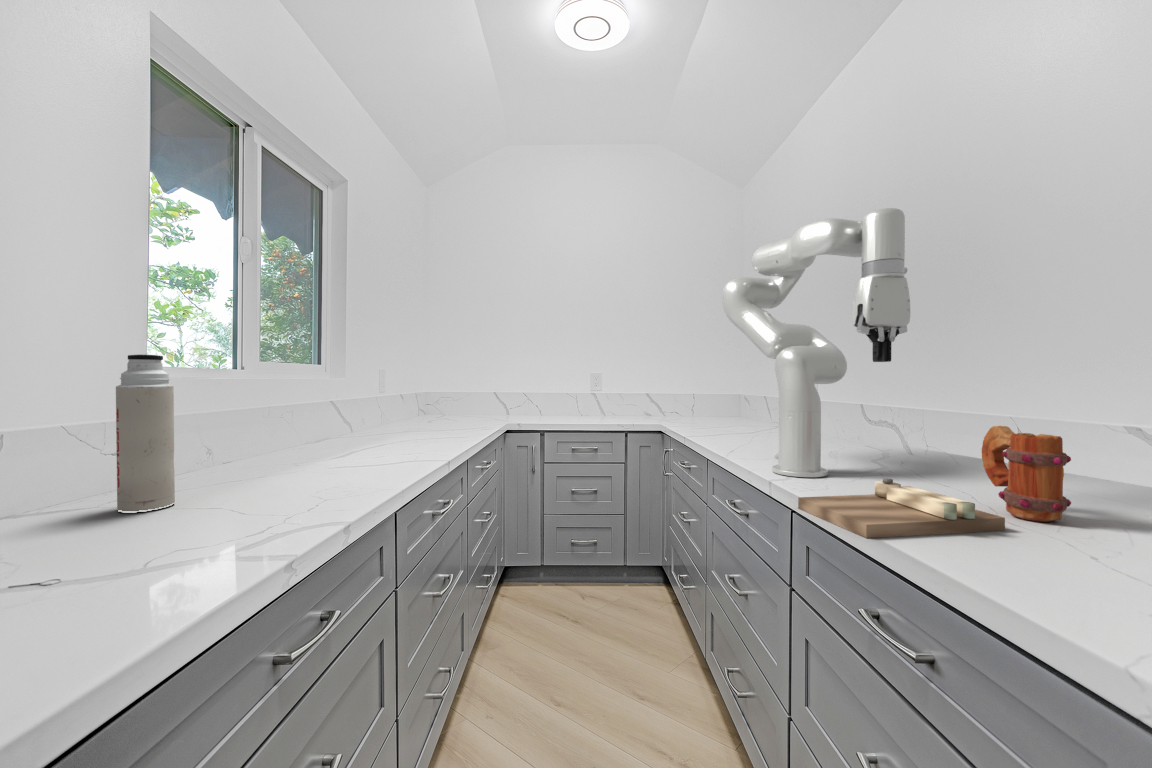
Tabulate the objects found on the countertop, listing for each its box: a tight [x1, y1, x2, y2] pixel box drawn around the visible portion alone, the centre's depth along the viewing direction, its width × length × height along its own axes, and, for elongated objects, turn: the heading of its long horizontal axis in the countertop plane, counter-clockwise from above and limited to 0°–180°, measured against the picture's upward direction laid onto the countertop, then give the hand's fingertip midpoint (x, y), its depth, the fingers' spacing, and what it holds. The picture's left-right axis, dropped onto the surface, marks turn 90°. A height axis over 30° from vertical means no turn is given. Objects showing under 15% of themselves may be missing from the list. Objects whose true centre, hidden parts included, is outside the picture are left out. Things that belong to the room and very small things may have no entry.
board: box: [797, 493, 1006, 539], centre depth 84 cm, size 17×24×2 cm
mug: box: [981, 425, 1072, 523], centre depth 87 cm, size 15×8×15 cm, turn 179°
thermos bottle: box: [115, 354, 176, 511], centre depth 91 cm, size 8×8×28 cm
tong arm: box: [874, 480, 957, 520], centre depth 84 cm, size 17×4×2 cm, turn 7°
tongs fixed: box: [882, 477, 976, 519], centre depth 84 cm, size 16×3×3 cm, turn 9°
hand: (881, 361), depth 102 cm, fingers closed
